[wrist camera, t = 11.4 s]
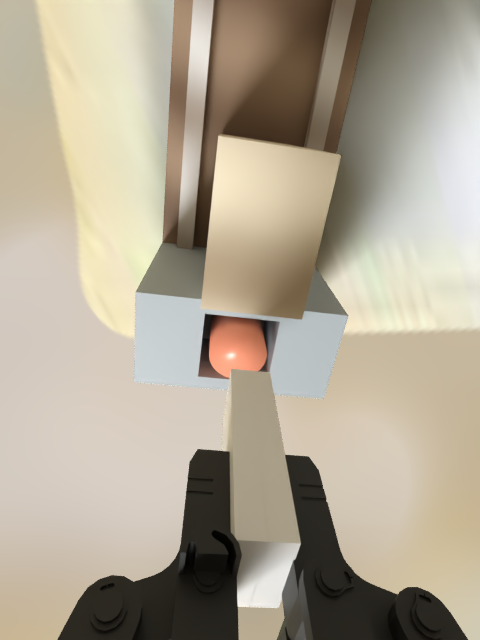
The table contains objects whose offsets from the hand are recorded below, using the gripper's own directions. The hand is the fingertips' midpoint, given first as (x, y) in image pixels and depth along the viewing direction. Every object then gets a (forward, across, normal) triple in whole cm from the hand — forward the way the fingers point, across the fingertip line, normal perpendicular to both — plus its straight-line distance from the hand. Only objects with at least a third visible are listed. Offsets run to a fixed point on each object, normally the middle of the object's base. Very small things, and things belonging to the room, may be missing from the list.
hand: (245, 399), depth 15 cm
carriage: (+13, 0, +6) cm, 14 cm away
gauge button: (+8, 0, 0) cm, 8 cm away
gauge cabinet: (+14, 0, 0) cm, 14 cm away
